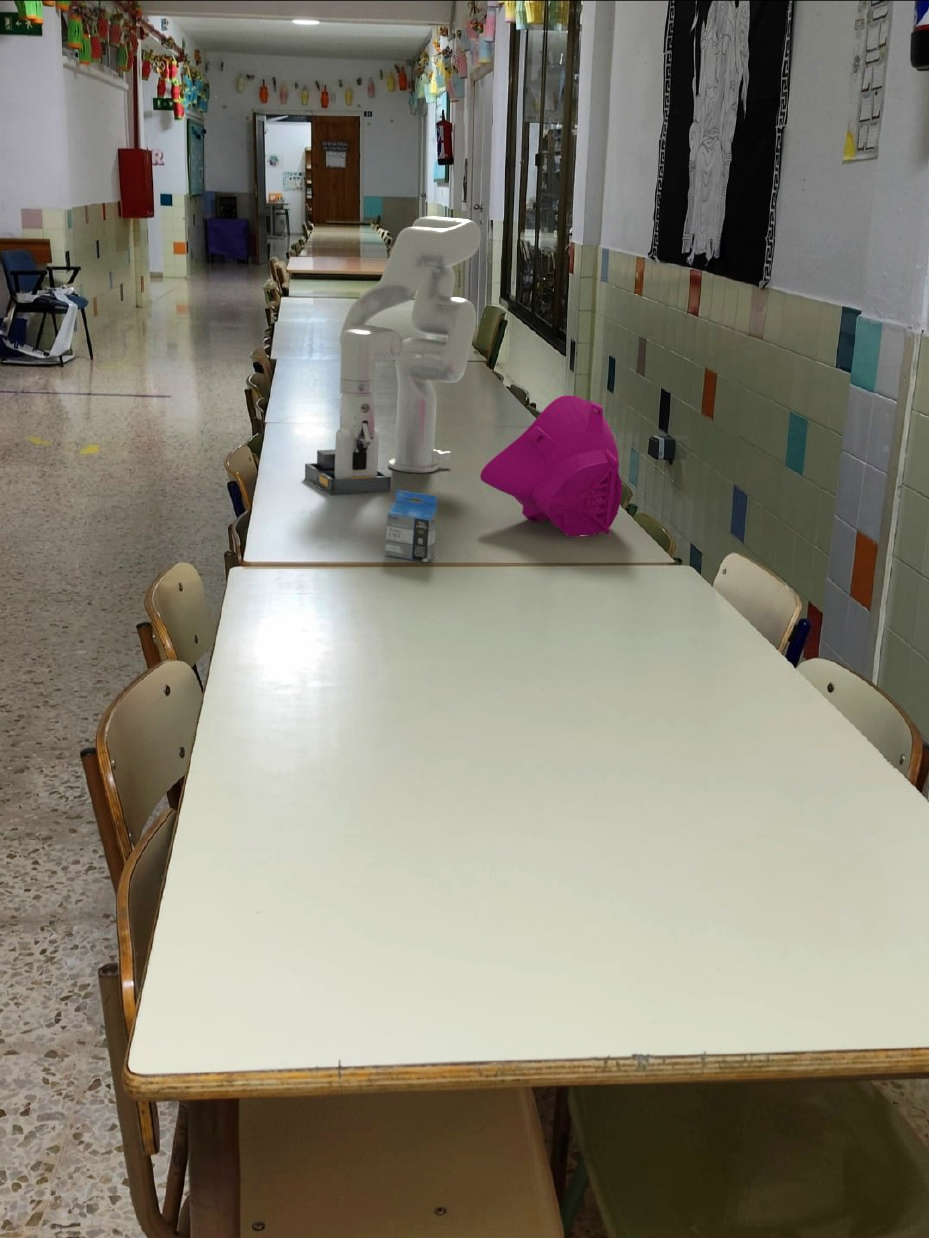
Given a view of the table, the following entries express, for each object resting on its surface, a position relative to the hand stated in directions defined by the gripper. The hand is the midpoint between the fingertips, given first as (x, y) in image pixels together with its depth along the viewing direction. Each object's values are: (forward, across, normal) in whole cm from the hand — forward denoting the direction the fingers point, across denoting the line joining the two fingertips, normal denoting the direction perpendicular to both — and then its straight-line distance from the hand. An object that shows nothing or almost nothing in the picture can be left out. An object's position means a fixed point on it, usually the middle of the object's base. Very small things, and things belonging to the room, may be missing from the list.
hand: (354, 466), depth 275 cm
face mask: (+6, -41, -28) cm, 50 cm away
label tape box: (+6, -51, +10) cm, 52 cm away
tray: (+5, +4, 0) cm, 7 cm away
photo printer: (+3, 0, 0) cm, 3 cm away
